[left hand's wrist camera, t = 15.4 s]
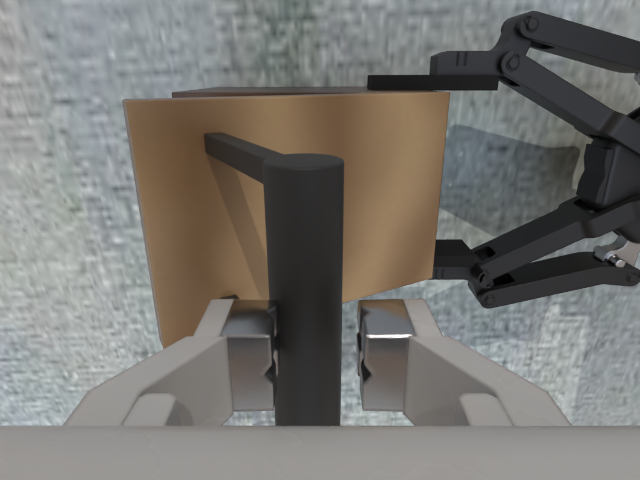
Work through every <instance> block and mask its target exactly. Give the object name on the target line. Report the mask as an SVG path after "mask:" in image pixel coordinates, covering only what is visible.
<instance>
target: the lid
mask: <svg viewBox="0 0 640 480" xmlns="http://www.w3.org/2000/svg"><path fill="white" fill-rule="evenodd" d="M449 98H450V93H449V92H436V91H429V92H390V93H351V94H312V95H273V96H234V97H196V98H157V99H124V100H123V101H122V103H123V109H124V115H125V122H126V128H127V134H128V141H129V147H130V153H131V160H132V166H133V172H134V179H135V185H136V192H137V198H138V204H139V211H140V217H141V223H142V230H143V236H144V242H145V249H146V255H147V261H148V268H149V274H150V281H151V287H152V293H153V300H154V306H155V312H156V319H157V325H158V331H159V338H160V341H161V344H162V346H163V349H165V348H166V347H168V346H170V345H172V344H174V343H175V342H177V341H179V340H181V339H183V338H184V337H186V336H193V335H194V333H195V331H196V329H197V327H198V325H199V323H200V321H201V319H202V317H203V315H204V313H205V311H206V309H207V307H208V305H209V303H210V301H211V300H213V299H234V300H235V299H249V300H278V303H279V325H278V332H279V334H280V346H281V347H280V369H279V375H278V376H277V377H276V380H277V391H276V398H275V421H276V426H340V407H341V344H342V303H345V302H348V301H352V300H355V299H359V298H363V297H366V296H370V295H373V294H377V293H381V292H384V291H388V290H391V289H395V288H399V287H402V286H406V285H409V284H413V283H416V282H420V281H424V280H427V279H431V278H432V274H433V263H434V253H435V243H436V232H437V222H438V212H439V201H440V191H441V181H442V170H443V160H444V149H445V139H446V129H447V118H448V108H449Z"/></svg>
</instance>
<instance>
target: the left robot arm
mask: <svg viewBox="0 0 640 480" xmlns="http://www.w3.org/2000/svg"><path fill="white" fill-rule="evenodd" d="M357 319H358V326H359V332H358V333H357V370H358V376H360V393H361V401H362V408H363V411H397V412H403V414H404V415H405V416H406V417H407V418H408V419H409V420H410V421H411V422H412V423H413V424H414V426H222V425H223V424H224V423H225V422H226V421H227V420H228V419H229V418H230V417H231V416H232V415H233V412H239V411H274V405H275V398H276V391H277V380H276V377H277V376H278V375H279V369H280V347H281V346H280V334H279V332H278V325H279V303H278V300H249V299H235V300H234V299H213V300H211V301H210V303H209V305H208V307H207V309H206V311H205V313H204V315H203V317H202V319H201V321H200V323H199V325H198V327H197V329H196V331H195V333H194V335H193V336H186V337H184V338H183V339H181V340H179V341H177V342H175V343H174V344H172V345H170V346H168V347H166V348H165V349H163V350H161V351H159V352H158V353H156V354H154V355H152V356H150V357H149V358H147V359H145V360H143V361H141V362H140V363H138V364H136V365H134V366H132V367H131V368H129V369H127V370H125V371H123V372H122V373H120V374H118V375H116V376H114V377H113V378H111V379H109V380H107V381H105V382H104V383H102V384H100V385H98V386H96V387H95V388H93V389H91V390H89V391H88V392H87V393H86V395H85V396H84V397H83V399H82V400H81V401H80V403H79V404H78V405H77V407H76V408H75V410H74V411H73V412H72V414H71V415H70V416H69V418H68V419H67V420H66V422H65V423H64V424H63V426H0V480H640V426H572V425H571V423H570V422H569V421H568V419H567V418H566V416H565V415H564V414H563V412H562V411H561V409H560V408H559V407H558V405H557V404H556V402H555V401H554V400H553V398H552V397H551V396H550V394H549V393H548V392H547V391H546V390H544V389H542V388H540V387H539V386H537V385H535V384H533V383H531V382H530V381H528V380H526V379H524V378H523V377H521V376H519V375H517V374H515V373H514V372H512V371H510V370H508V369H507V368H505V367H503V366H501V365H500V364H498V363H496V362H494V361H492V360H491V359H489V358H487V357H485V356H484V355H482V354H480V353H478V352H476V351H475V350H473V349H471V348H469V347H468V346H466V345H464V344H462V343H461V342H459V341H457V340H455V339H453V338H452V337H450V336H443V335H442V333H441V331H440V329H439V327H438V325H437V323H436V321H435V319H434V316H433V314H432V312H431V310H430V308H429V306H428V304H427V302H426V300H424V299H405V300H403V299H385V300H359V301H358V313H357Z"/></svg>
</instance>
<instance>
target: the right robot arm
mask: <svg viewBox="0 0 640 480" xmlns="http://www.w3.org/2000/svg"><path fill="white" fill-rule="evenodd" d="M529 47H530V48H534V49H537V50H541V51H544V52H548V53H551V54H555V55H558V56H562V57H565V58H569V59H572V60H576V61H579V62H583V63H586V64H590V65H593V66H597V67H601V68H604V69H608V70H611V71H615V72H620V73H636V74H635V76H634V79H635V81H637V82H638V84H639V85H640V41H636V40H633V39H629V38H626V37H622V36H619V35H616V34H612V33H609V32H605V31H602V30H599V29H595V28H592V27H588V26H585V25H582V24H578V23H575V22H571V21H568V20H564V19H561V18H558V17H554V16H551V15H547V14H544V13H541V12H537V11H531V12H528V13H524V14H521V15H518V16H515V17H512V18H509V19H507V20H506V21H505V22H504V23H503V25H502V28H501V36H500V38H499V40H498V42H497V44H496V46H495V47H494V48H493V49H491V50H490V51H446V52H441V53H438V54H436V55H434V56H431V62H430V74H429V75H368V84H367V89H370V90H498V82H499V81H500V82H502V83H504V84H505V85H507V86H508V87H510V88H512V89H513V90H515V91H517V92H518V93H520V94H522V95H523V96H525V97H527V98H528V99H530V100H532V101H533V102H535V103H537V104H538V105H540V106H541V107H543V108H545V109H546V110H548V111H550V112H551V113H553V114H555V115H556V116H558V117H560V118H561V119H563V120H565V121H566V122H568V123H570V124H571V125H573V126H574V128H575V129H576V130H578V131H580V132H581V133H583V134H585V135H586V136H588V137H590V138H591V139H593V141H592V143H591V144H587V145H586V150H585V154H584V165H585V170H584V172H583V174H582V176H581V179H580V181H579V183H578V188H577V192H576V195H578V196H576V197H574V198H572V199H570V200H568V201H565V202H563V203H561V204H560V205H559V207H558V209H557V210H555V211H553V212H550V213H548V214H546V215H544V216H542V217H540V218H538V219H535V220H533V221H531V222H529V223H527V224H525V225H523V226H520V227H518V228H516V229H514V230H512V231H510V232H508V233H505V234H503V235H501V236H499V237H497V238H495V239H493V240H490V241H488V242H486V243H484V244H482V245H480V246H477V247H475V248H473V249H471V250H470V249H469V247H468V246H467V245H466V244H465V243H464V242H463V240H436V243H435V253H434V263H433V274H432V278H431V279H427V280H435V279H436V280H441V279H443V280H451V279H464V280H468V286H469V288H470V290H471V291H472V293H473V294H474V295H475V297H476V298H477V300H478V301H479V303H480V304H481V305H482V306H483V307H484V308H494V307H499V306H504V305H508V304H513V303H517V302H522V301H527V300H531V299H536V298H540V297H545V296H550V295H554V294H559V293H563V292H568V291H573V290H577V289H582V288H586V287H591V286H595V285H600V284H609V285H620V286H634V285H636V284H638V283H639V282H640V270H639V269H637V268H636V267H634V265H635V262H636V259H637V257H638V254H639V252H640V107H638V108H637V109H635V110H634V111H632V112H631V113H629V114H627V115H624V114H622V113H619V112H616V111H614V110H612V109H610V108H609V107H607V106H605V105H604V104H602V103H601V102H599V101H597V100H596V99H594V98H593V97H591V96H589V95H588V94H586V93H585V92H583V91H581V90H580V89H578V88H577V87H575V86H573V85H572V84H570V83H569V82H567V81H565V80H564V79H562V78H561V77H559V76H557V75H556V74H554V73H553V72H551V71H549V70H548V69H546V68H545V67H543V66H541V65H540V64H538V63H537V62H535V61H533V60H532V59H530V58H529V57H527V56H525V55H526V53H527V51H528V49H529ZM611 231H613V232H614V233H616V234H617V235H618V237H617V239H616V240H615V241H614V242H613V243H612V244H609V245H603V246H596V247H594V249H593V252H578V253H572V254H568V255H563V256H559V257H554V258H550V259H546V260H541V261H537V262H532V261H534V260H537V259H539V258H541V257H543V256H546V255H548V254H550V253H552V252H554V251H557V250H559V249H561V248H563V247H566V246H568V245H570V244H572V243H574V242H577V241H579V240H581V239H584V238H596V237H599V236H602V235H604V234H606V233H608V232H611ZM530 262H532V263H530Z"/></svg>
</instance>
